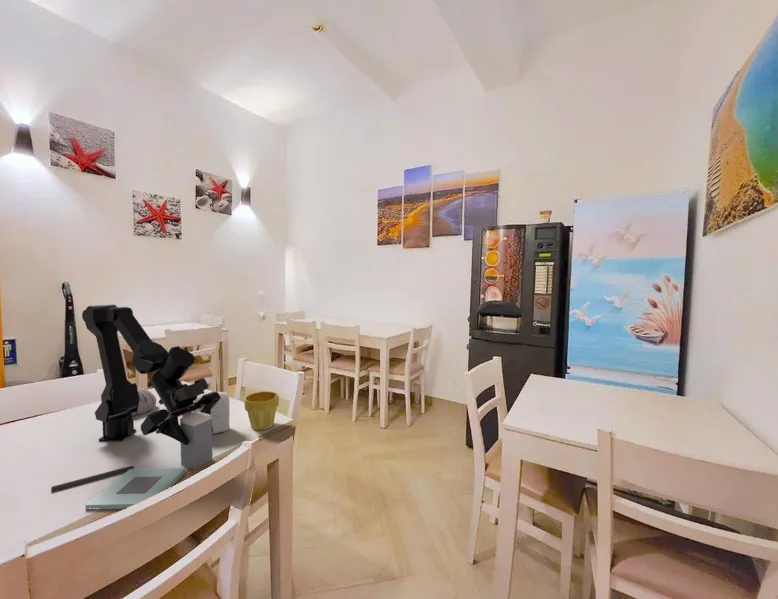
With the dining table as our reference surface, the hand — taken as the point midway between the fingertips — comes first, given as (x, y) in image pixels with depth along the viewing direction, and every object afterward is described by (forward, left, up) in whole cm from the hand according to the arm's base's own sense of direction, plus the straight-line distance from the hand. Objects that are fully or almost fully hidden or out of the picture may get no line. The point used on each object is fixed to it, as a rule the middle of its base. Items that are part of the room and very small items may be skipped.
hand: (200, 438), depth 87 cm
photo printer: (-5, +18, -7) cm, 20 cm away
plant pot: (+9, +22, -7) cm, 24 cm away
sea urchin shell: (-39, +35, -7) cm, 53 cm away
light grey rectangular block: (-1, +1, -7) cm, 7 cm away
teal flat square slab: (-8, -10, -7) cm, 15 cm away
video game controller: (-18, +33, -7) cm, 38 cm away
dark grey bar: (-21, -6, -7) cm, 23 cm away
